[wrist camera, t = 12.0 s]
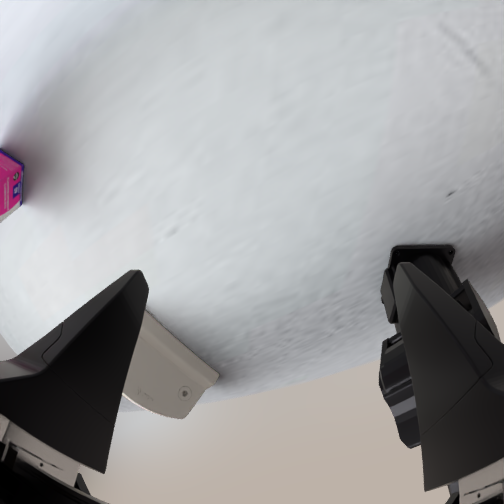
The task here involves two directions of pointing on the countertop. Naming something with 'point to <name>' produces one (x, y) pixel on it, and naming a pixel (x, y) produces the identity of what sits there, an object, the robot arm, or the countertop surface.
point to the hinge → (165, 373)
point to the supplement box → (10, 185)
